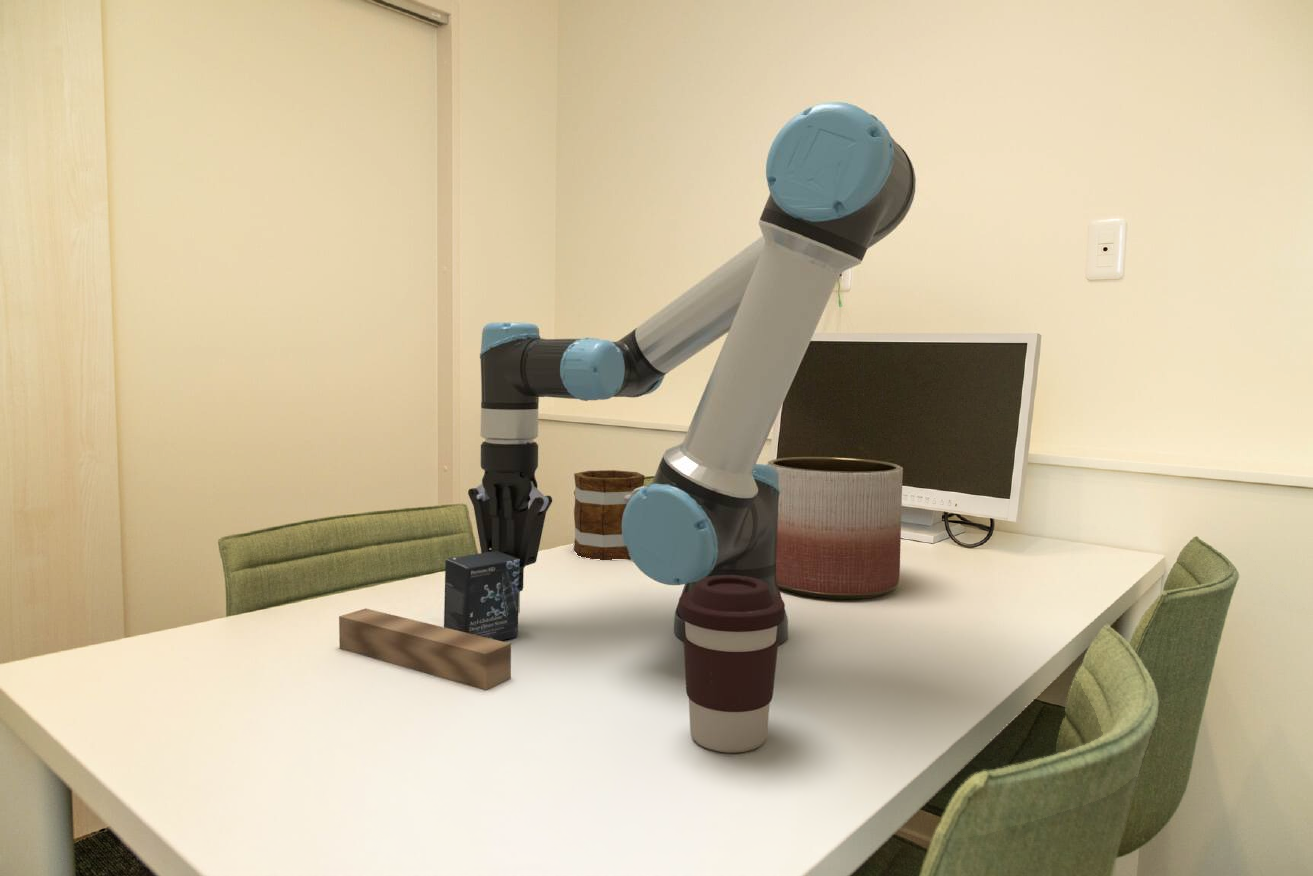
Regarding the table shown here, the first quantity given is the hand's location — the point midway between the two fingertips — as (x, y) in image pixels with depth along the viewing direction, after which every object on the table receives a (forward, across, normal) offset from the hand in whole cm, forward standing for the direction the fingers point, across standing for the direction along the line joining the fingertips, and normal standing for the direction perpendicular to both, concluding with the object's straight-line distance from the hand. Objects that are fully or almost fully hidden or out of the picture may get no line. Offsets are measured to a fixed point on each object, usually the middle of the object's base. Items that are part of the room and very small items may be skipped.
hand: (508, 613), depth 109 cm
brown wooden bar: (+2, -1, +16) cm, 16 cm away
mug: (+2, +11, -43) cm, 44 cm away
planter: (+2, -29, -46) cm, 55 cm away
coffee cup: (+1, -40, +13) cm, 42 cm away
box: (+2, -1, +6) cm, 6 cm away
